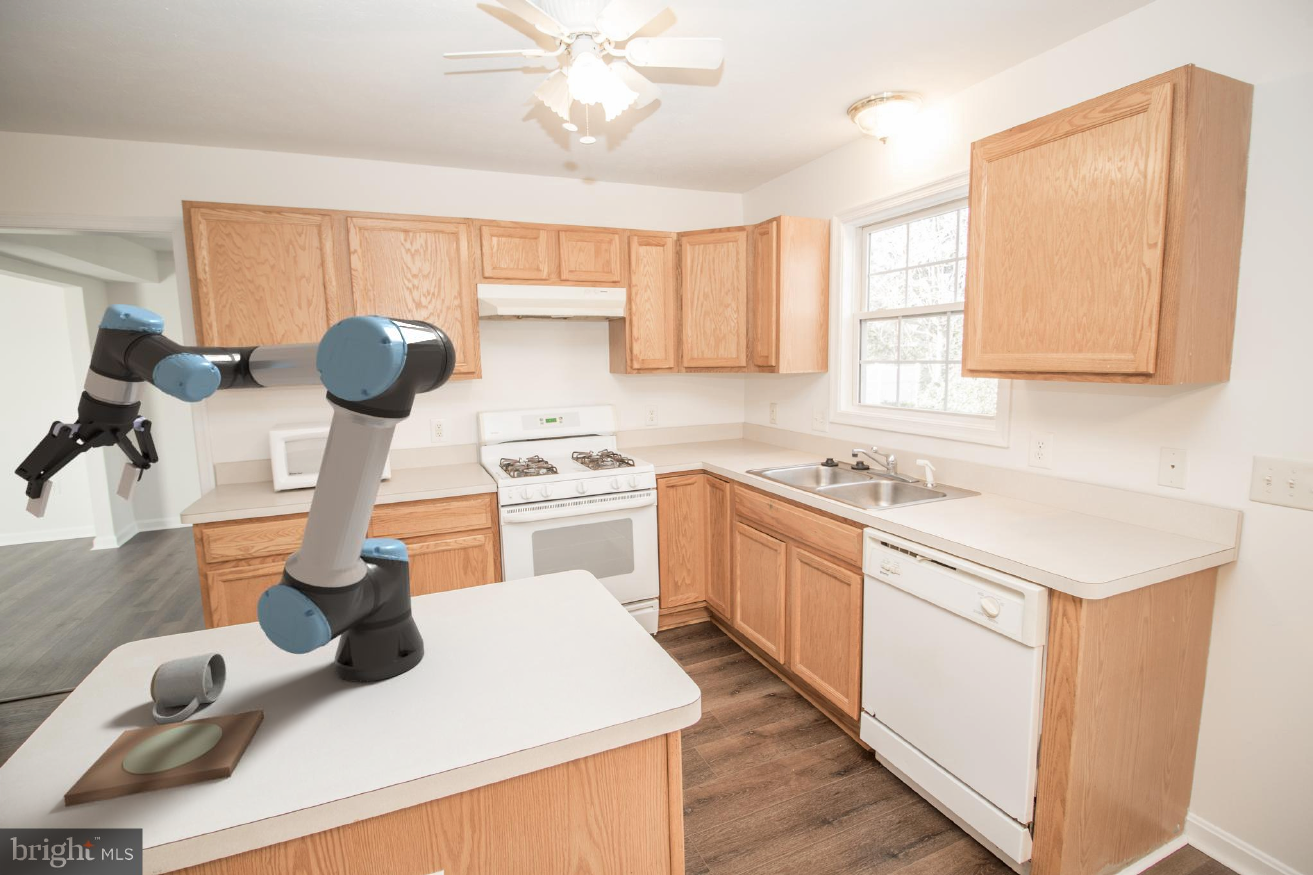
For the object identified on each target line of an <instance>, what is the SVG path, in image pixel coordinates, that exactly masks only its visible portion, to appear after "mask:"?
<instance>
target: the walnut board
mask: <svg viewBox="0 0 1313 875" xmlns="http://www.w3.org/2000/svg"><path fill="white" fill-rule="evenodd" d="M264 720H265V709H257V710H249V711H243V712H236V713H230V714H224V715H217V716H211V717H206V718H197V719H192V720H185V721H179V722H176V723H171V724H160V725H153V726H146V727H141V728H131V729H125V730H124V731H123V732H122V733H121V734H120V735H119V736H118V737H117V738H116V739H115V741H114V742H113V743H112V744H111V745H110V746H108V748H107V749H106V750H105V751H104V752H103V753H102V754H101V755H100V757H98V759H97V760H96V761H95V762H94V763H93V764H92V765H91V766H90V767H89V768H88V770H86V772H84V774H83V775H82V776H81V777H80V778H79V779H78V780H77V781H76V782H75V783H74V784H73V785H72V786H71V787H70V789H69V790H68V791H67V792H65V793H64V795H63V798H64V806H65V807H70V806H75V805H80V804H81V805H82V804H87V803H92V802H98V801H102V800H110V799H114V798H119V797H125V796H130V795H135V794H136V795H137V794H141V793H142V794H143V793H146V792H147V793H148V792H152V791H153V792H154V791H158V790H159V791H160V790H164V789H168V788H176V787H180V786H185V785H192V784H196V783H197V784H198V783H202V782H208V781H213V780H219V779H220V780H221V779H225V778H226V779H227V778H230V777H231V776H232V775H233V773H234V771H235V770H236V768H237V766H238V764H239V763H240V761H241V759H242V757H243V756H244V755H245V752H246V751H247V750H248V747H249V746H250V744H251V742H252V740H253V738H254V737H255V735H256V734H257V732H258V730H259V728H260V727H261V725H262V723H263V722H264Z"/></svg>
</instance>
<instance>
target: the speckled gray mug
mask: <svg viewBox="0 0 1313 875" xmlns="http://www.w3.org/2000/svg"><path fill="white" fill-rule="evenodd" d="M226 680H227V667H226V662H225V659H224V656H223V655H222V654H221V653H219V652H210V653H205V654H204V653H203V654H199V655H193V656H188V657H181V658H177V659H172V660H169V661H166V662H164V663H162V664H160V665H159V666H158V667H157V669H155V671H154V673H153V676H152V678H151V681H150V690H149V692H150V696H151V699H152V701H153V702H154V705H153V708H152V714H153V717H154V719H155V720H156V722H158V723H160V724H161V725H165V724H171V723H177V722H182V721H183V720H184V719H186V718H188V717H189V716H190V715H191V714H193V713H194V712H195V710H196V709H197V708H198V707H199V706H200V704H208V703H213V702H215V701H216V700H218V699H219V698H220V697H221V695H222V693H223V691H224V688H225V686H226ZM179 706H186V707H185V708H183V709H182V710H181V711H180V712H178V713H175V714H173V715H171V716H162V715H160V711H161V709H162V708H166V707H167V708H168V707H169V708H171V707H179Z"/></svg>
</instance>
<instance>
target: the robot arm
mask: <svg viewBox="0 0 1313 875" xmlns="http://www.w3.org/2000/svg"><path fill="white" fill-rule="evenodd" d="M164 327H165V321H164V319H163V317H162V316H161V315H160V314H158V313H156V312H154V311H151V310H149V309H146V308H143V307H140V306H135V305H130V304H123V303H121V304H120V303H118V304H111V305H109V306H108V307H106V309H105V311H104V313H103V315H102V318H101V321H100V323H99V325H98V331H97V335H96V338H95V342H94V346H93V351H92V354H91V358H90V363H89V366H88V370H87V373H86V378H85V380H84V385H83V391H82V392H81V395H80V399H79V402H78V405H77V414H78V417H77V419H76V421H74V422H73V423H63V422H62V421H60V420H55V421H53V422H52V424H50V425H51V426H50V428H49V430H48V432H47V434H46V435H45V436H44V437H43V438H42V440H41V441H39V443H38V444H37V445H36V446H35V448H34V449H32V450H31V452H30V453H29V454H28V456H26V457H25V459H24V460H23V461H22V462H21V463H20V464H19V465H18V466H17V467H16V468H15V470H14V474H15V475H16V476H18V477H20V478H21V479H23V480H24V481H26V482H27V485H26V489H25V492H24V493H25V495H26V496H27V497H28V500H27V504H26V507H25V508H26V509H25V511H27V512H28V513H30V514H31V515H33V516H34V517H36V518H38V519H40V518H43V517H44V516H45V512H46V508H47V505H48V502H49V497H50V494H51V490H52V487H53V481H52V480H50V479H51V478H52V477H53V476H54V475H56V474H57V473H59V471H61V470H62V469H63V468H65V467H66V466H67V465H68V464H69V463H71V462H72V461H73V460H74V459H76V457H78V456H79V455H80V454H82V453H87V452H88V451H89V450H90V449H92V448H93V449H95V448H97V449H98V448H100V447H113V446H115V444H116V445H117V446H118V447H119V449H121V451H122V452H123V453H124V454H125V456H126V457H127V458H128V459H129V461H131V462H125V463H124V467H123V470H122V474H121V478H120V481H119V484H118V487H117V491H116V495H118V496H120V497H122V498H123V499H124V500H126V501H131V500H132V499H133V497H134V493H135V491H136V486H137V483H138V482H140V480H142V477H143V474H144V471H147V470H149V469H151V466H152V465H151V464H156V463H158V462H159V456H158V452H157V450H156V446H155V443H154V439H153V436H152V432H151V430H152V424H153V423H152V421H151V420H149V419H147V418H146V417H144V416H143V415H141V414H139V412H140V408H141V405H142V403H141V401H142V400H143V398H144V396H145V392H146V388H147V384H148V383H149V384H151V385H152V386H154V387H155V388H157V389H158V390H160V391H161V392H162V393H164V394H166V395H169V396H171V397H173V398H176V399H177V400H180V401H183V402H186V403H198V402H199V403H200V402H201V401H203V400H204V399H206V398H207V399H208V398H210V397H211V396H212V395H213V394H215V392H217V391H223V390H237V389H238V390H243V389H265V388H277V387H278V388H279V387H280V388H281V387H297V386H322V385H323V386H324V387H325V389H326V395H325V399H326V401H327V402H328V403H329V405H330V406H331V408H332V409H333V415H332V419H331V423H330V426H329V430H328V435H327V438H326V443H325V448H324V451H323V455H322V460H321V464H320V468H319V471H318V472H319V473H318V476H317V480H316V485H315V489H314V492H313V497H312V499H311V505H310V508H309V512H308V516H307V520H306V524H305V529H304V532H303V536H302V539H301V540H302V541H301V544H300V549H298V550H296V551H294V552H291V553H290V555H288V556H287V558H286V559H285V563H284V568H283V571H282V574H281V579H280V582H279V583H278V584H274V585H271V586H269V587H268V588H267V589H266V590H264V591H263V592H262V594H261V595H260V597H259V598H258V601H257V603H256V615H257V620H258V621H257V622H259V626H260V628H261V629H262V630H263V632H264V635H265V636H266V637H267V639H268V640H269V641H270V642H271V643H272V644H274V645H275V646H276V647H277V648H278V649H280V650H282V651H284V652H287V653H290V654H295V655H304V654H309V653H311V652H313V651H315V650H317V649H319V648H321V647H325V646H326V645H329V643H330V642H331V641H333V640H334V639H336V638H337V637H339V636H340V638H339V641H338V645H337V648H336V652H335V655H334V671H335V673H336V674H335V675H336V676H337V677H338V678H341V679H342V680H345V681H350V682H360V683H361V682H362V683H364V682H374V681H379V680H385V679H388V678H391V677H394V676H395V677H396V676H397V675H400V674H403V673H404V672H407V671H408V670H410V669H412V668H414V667H415V666H417V665H418V664H419V663H420V662H421V661H422V660H423V658H424V656H425V645H424V644H425V643H424V638H423V637H422V635H421V632H420V630H419V628H418V626H417V624H416V622H415V620H414V616H413V613H412V612H413V611H412V598H411V582H410V566H409V565H410V564H409V563H410V559H409V554H408V547H407V545H406V543H404V541H402V540H400V539H395V538H388V537H387V538H380V537H378V538H377V537H376V538H366V536H367V534H368V529H369V525H370V523H371V518H372V514H373V511H374V507H375V503H376V501H377V500H376V499H377V496H378V493H379V489H380V485H381V483H382V478H383V474H384V471H385V468H386V464H387V459H388V455H389V452H390V449H391V444H392V442H393V438H394V434H395V431H396V427H397V426H396V425H397V424H399V423H401V422H403V421H406V420H407V419H408V418H409V417H410V415H411V412H412V407H413V405H414V400H415V397H416V395H418V394H424V393H429V392H432V391H435V390H437V389H439V388H441V387H442V386H443V385H445V384H446V383H447V382H448V381H449V379H450V378H451V376H453V373H454V371H455V368H456V363H457V357H456V356H457V355H456V350H455V346H454V344H453V342H452V340H451V339H450V338H449V336H448V334H447V333H446V332H445V331H443V329H441V328H440V327H438V326H437V325H435V324H433V323H431V322H427V321H424V320H420V319H419V320H418V319H416V320H415V319H404V318H403V319H402V318H396V317H390V316H389V317H387V316H381V315H377V314H375V315H374V314H370V315H361V316H360V315H357V316H356V315H355V316H349V317H345V318H343V319H341V320H340V321H338V322H336V323H334V324H333V325H332V326H330V327H329V328H328V329H327V331H326V332H325V333H324V334H323V336H322V338H321V339H320V341H313V342H299V343H284V344H283V343H282V344H272V345H253V346H252V345H251V346H198V345H197V346H195V345H193V346H187V345H182V344H179V343H177V342H175V341H173V340H172V339H170V338H168V337H167V336H165V335H164V334H163V333H164V331H165V330H164ZM132 430H133V432H134V435H135V438H136V441H137V445H138V448H139V450H140V452H139V451H138V450H137V448H136V446H134V444H133V442H132V441H131V439H130V438H129V437H128V436H127V435H128V434H129V433H130V432H131V431H132ZM79 440H80V441H81V443H78V441H79ZM44 518H45V517H44Z"/></svg>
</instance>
